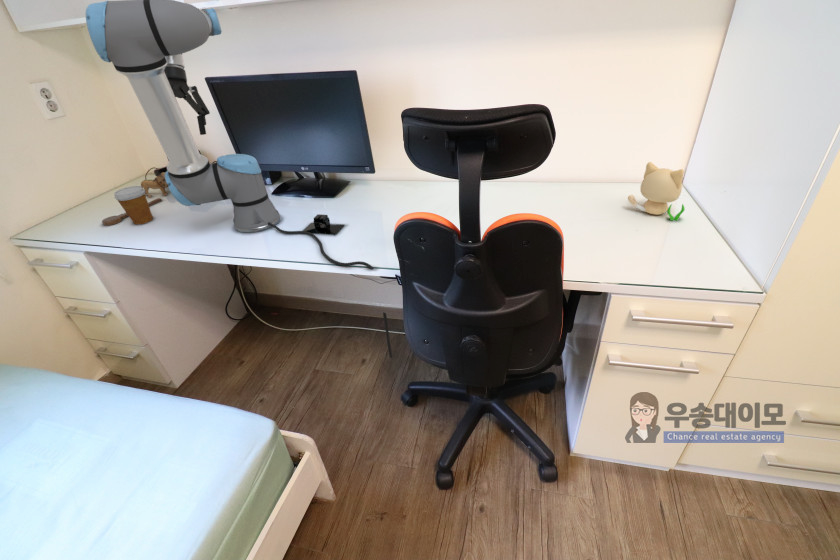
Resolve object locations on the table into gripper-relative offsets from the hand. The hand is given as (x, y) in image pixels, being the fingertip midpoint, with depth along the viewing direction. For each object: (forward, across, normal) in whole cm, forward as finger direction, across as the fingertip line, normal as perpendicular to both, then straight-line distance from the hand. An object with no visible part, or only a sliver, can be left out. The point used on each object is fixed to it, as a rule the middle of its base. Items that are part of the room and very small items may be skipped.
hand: (184, 133), depth 141 cm
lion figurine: (+21, -5, -37) cm, 43 cm away
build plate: (+34, -9, +55) cm, 65 cm away
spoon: (+28, +11, -28) cm, 40 cm away
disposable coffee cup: (+30, +13, -15) cm, 36 cm away
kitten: (+34, -58, +148) cm, 162 cm away
